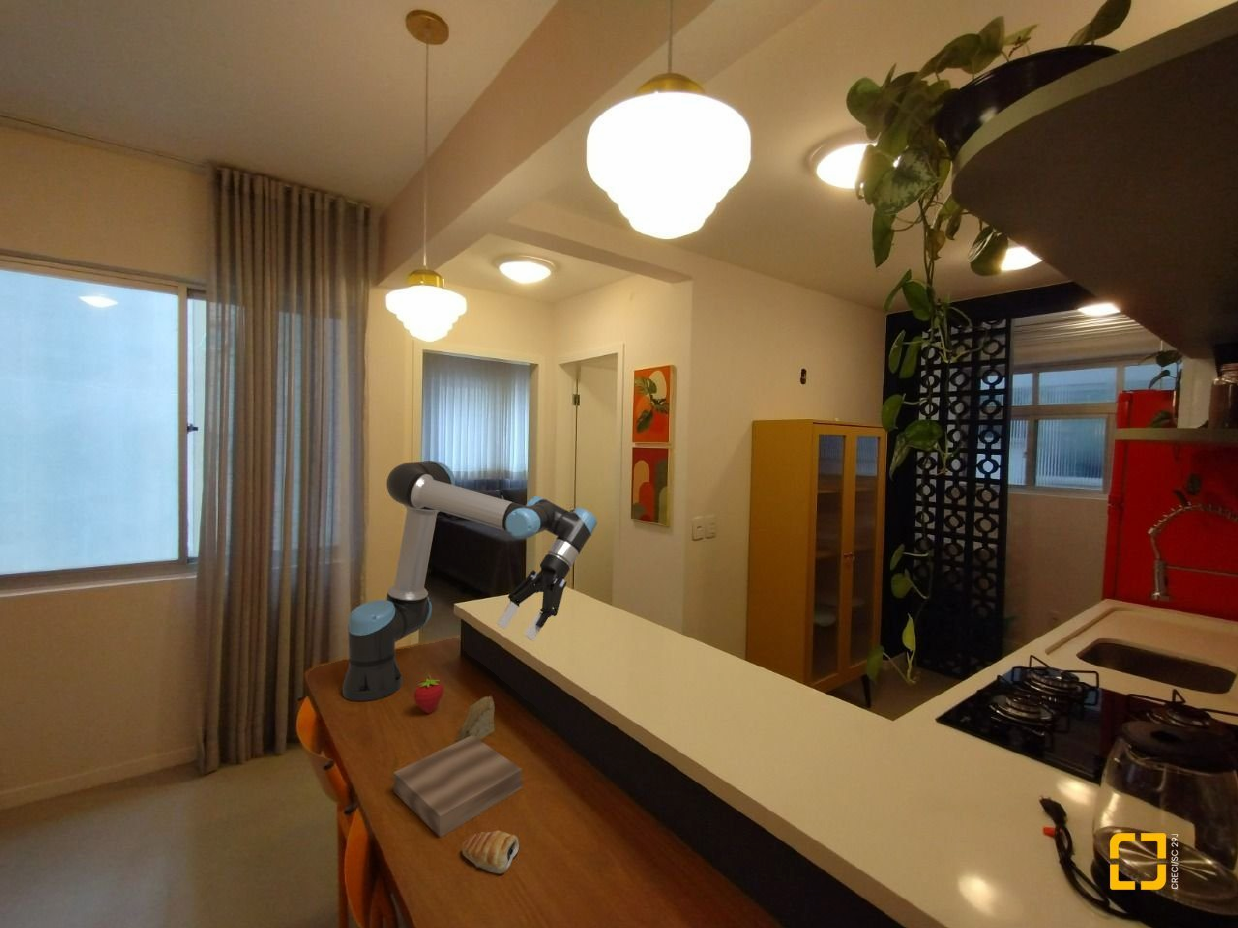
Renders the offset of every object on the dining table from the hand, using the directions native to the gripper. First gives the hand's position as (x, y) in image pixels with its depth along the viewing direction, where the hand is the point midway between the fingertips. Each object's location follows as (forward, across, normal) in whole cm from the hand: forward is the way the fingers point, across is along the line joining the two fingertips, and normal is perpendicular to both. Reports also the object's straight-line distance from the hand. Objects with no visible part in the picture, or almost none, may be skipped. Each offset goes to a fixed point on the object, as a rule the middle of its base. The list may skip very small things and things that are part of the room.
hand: (514, 632), depth 131 cm
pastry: (+36, -34, +2) cm, 49 cm away
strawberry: (+26, +19, -3) cm, 32 cm away
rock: (+24, +1, -7) cm, 25 cm away
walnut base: (+32, -14, +1) cm, 35 cm away
